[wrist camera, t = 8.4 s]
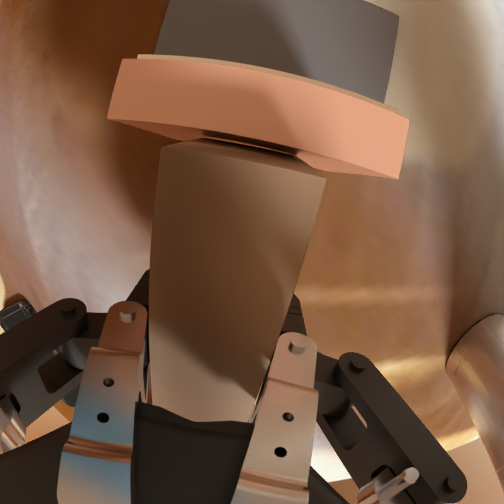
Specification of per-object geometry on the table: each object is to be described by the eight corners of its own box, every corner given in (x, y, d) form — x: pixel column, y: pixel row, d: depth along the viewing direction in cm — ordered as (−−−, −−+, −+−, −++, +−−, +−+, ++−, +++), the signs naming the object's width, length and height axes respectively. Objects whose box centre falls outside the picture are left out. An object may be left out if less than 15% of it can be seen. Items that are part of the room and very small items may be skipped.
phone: (22, 301, 21) (107, 406, 26) (28, 295, 22) (110, 399, 27) (-7, 315, 22) (67, 407, 28) (-1, 310, 23) (71, 401, 29)
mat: (397, 17, 12) (398, 16, 12) (375, 128, 15) (377, 129, 15) (182, -30, 11) (181, -32, 11) (149, 80, 14) (147, 80, 14)
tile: (333, 134, 16) (410, 111, 7) (325, 170, 17) (398, 179, 8) (184, 103, 15) (125, 50, 7) (176, 139, 16) (106, 118, 7)
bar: (296, 155, 10) (326, 178, 6) (238, 379, 15) (233, 456, 11) (203, 137, 10) (161, 146, 6) (176, 368, 15) (156, 442, 10)
